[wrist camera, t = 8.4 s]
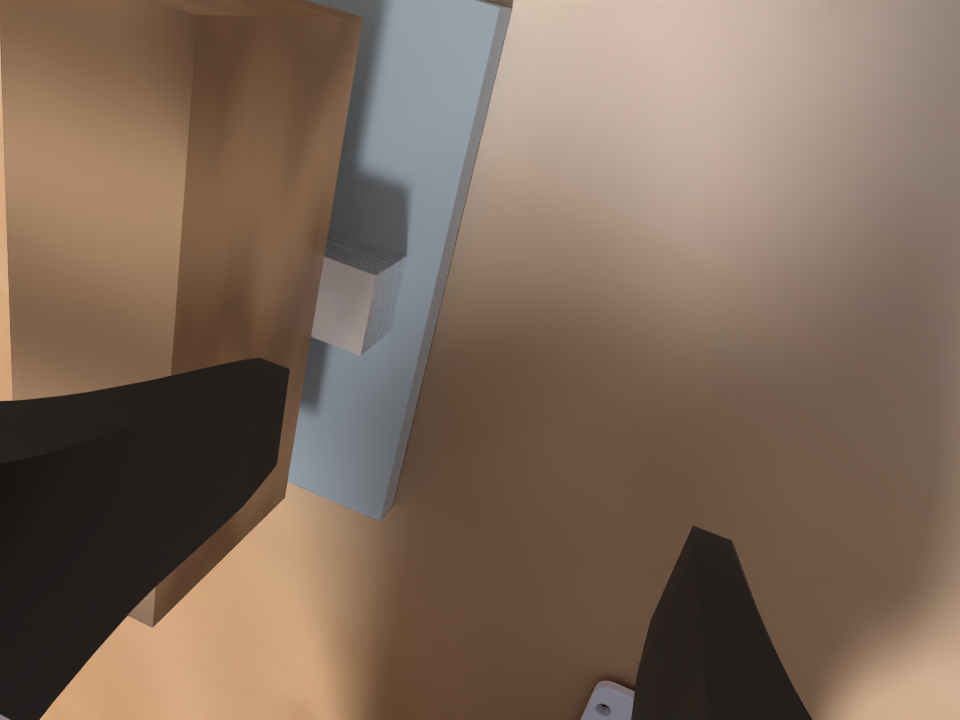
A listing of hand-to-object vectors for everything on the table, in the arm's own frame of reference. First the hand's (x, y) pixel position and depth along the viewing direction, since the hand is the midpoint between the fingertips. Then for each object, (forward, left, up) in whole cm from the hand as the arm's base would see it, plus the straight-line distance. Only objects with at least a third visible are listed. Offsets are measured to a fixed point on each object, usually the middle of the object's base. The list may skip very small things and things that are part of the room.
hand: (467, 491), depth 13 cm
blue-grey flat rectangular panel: (-1, +9, -10) cm, 13 cm away
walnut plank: (-1, +9, -7) cm, 11 cm away
